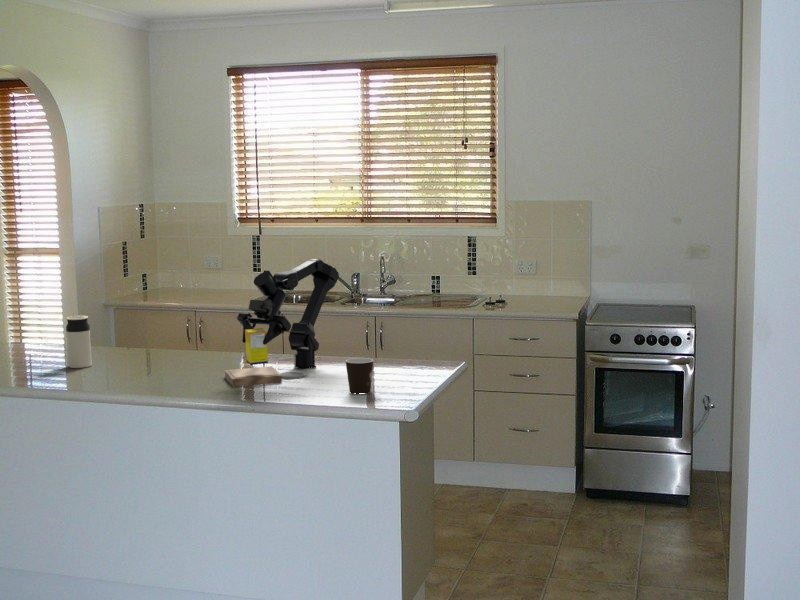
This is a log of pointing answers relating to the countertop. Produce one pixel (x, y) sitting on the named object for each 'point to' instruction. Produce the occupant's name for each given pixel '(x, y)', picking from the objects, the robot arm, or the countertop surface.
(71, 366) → the travel mug
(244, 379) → the walnut stand
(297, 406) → the countertop surface
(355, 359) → the coffee mug
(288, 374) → the grey coaster
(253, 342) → the supplement box
